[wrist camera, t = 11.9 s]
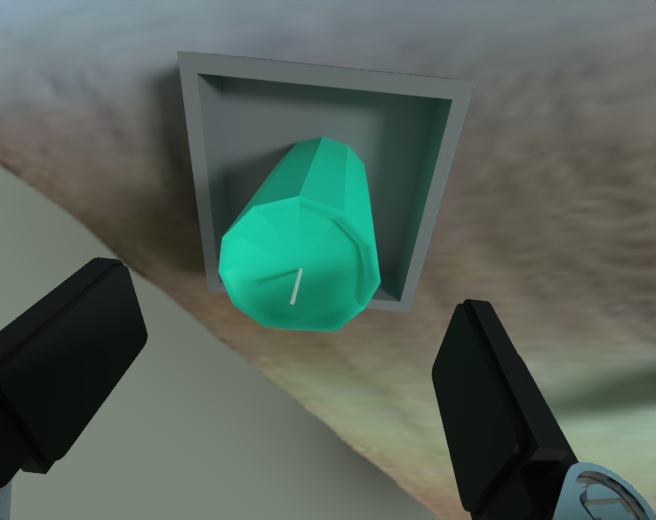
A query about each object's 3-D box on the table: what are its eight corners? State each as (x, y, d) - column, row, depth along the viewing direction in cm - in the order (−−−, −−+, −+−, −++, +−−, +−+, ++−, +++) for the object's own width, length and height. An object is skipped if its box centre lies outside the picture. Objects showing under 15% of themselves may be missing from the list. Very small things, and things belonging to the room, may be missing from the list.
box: (209, 53, 18) (177, 51, 15) (451, 78, 18) (475, 82, 15) (227, 260, 25) (208, 290, 22) (401, 278, 25) (409, 312, 22)
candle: (259, 198, 22) (176, 319, 11) (304, 115, 19) (247, 177, 9) (335, 242, 23) (322, 387, 13) (387, 172, 20) (425, 283, 10)
